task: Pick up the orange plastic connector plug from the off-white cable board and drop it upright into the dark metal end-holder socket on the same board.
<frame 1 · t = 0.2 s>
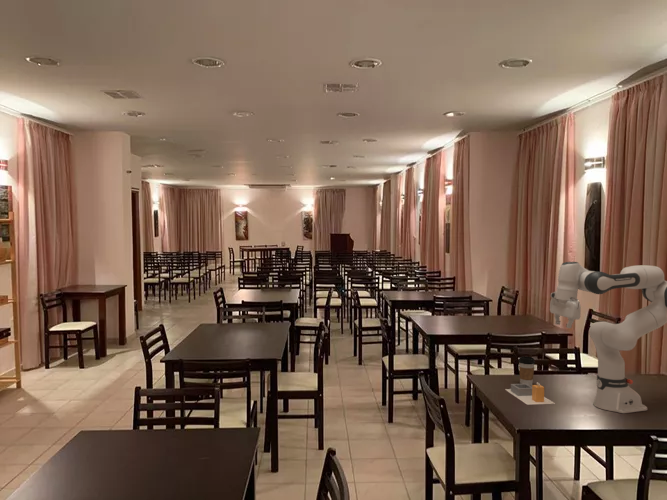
hand: (563, 326, 242), 38 cm above the table, tool pointing down, fingers open, 8 cm apart
cable board: (529, 398, 258), on the table
coffee cup: (526, 385, 280), on the table
plug: (538, 400, 251), point 1 cm above the table, touching cable board
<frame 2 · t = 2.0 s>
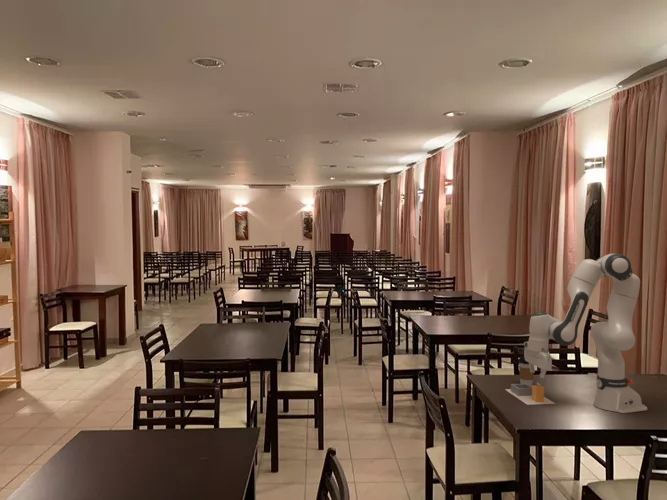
hand: (537, 375, 251), 13 cm above the table, tool pointing down, fingers open, 8 cm apart
nothing on the table moved.
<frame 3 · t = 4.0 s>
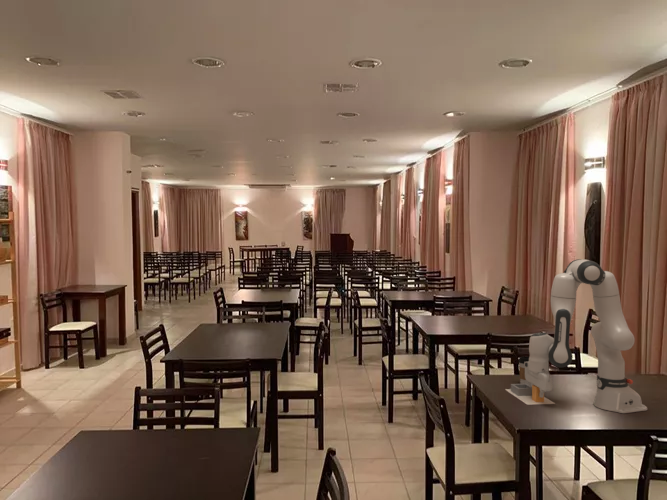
hand: (538, 395, 251), 4 cm above the table, tool pointing down, fingers closed on plug, 4 cm apart
plug: (538, 400, 251), point 1 cm above the table, touching cable board, gripper
everything else where it was.
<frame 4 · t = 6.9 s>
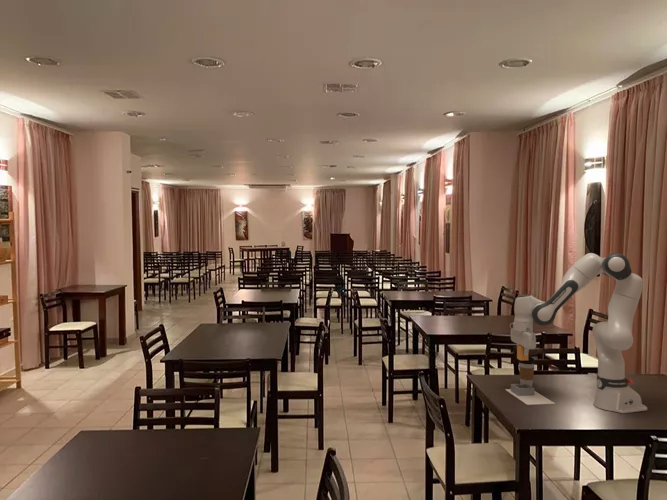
hand: (522, 354, 262), 21 cm above the table, tool pointing down, fingers closed on plug, 4 cm apart
plug: (522, 359, 262), point 18 cm above the table, touching gripper
everything else where it was.
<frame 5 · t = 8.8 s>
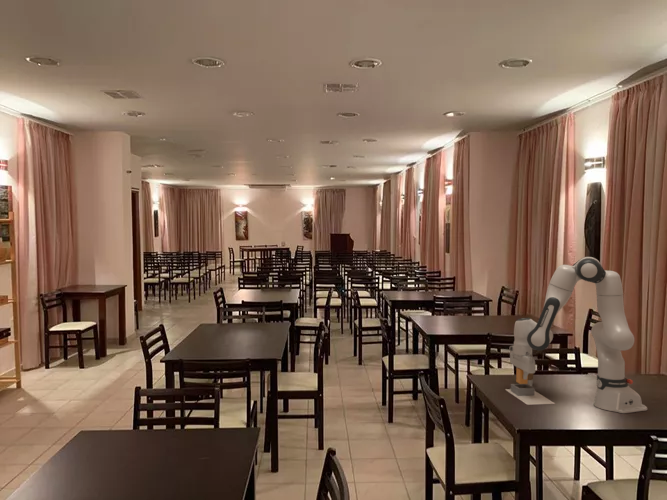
hand: (522, 377, 263), 9 cm above the table, tool pointing down, fingers closed on plug, 4 cm apart
plug: (521, 382, 263), point 6 cm above the table, touching gripper
everything else where it was.
when the fingers open (7 cm above the table, at t = 10.1 s): plug drops 3 cm, resting on cable board.
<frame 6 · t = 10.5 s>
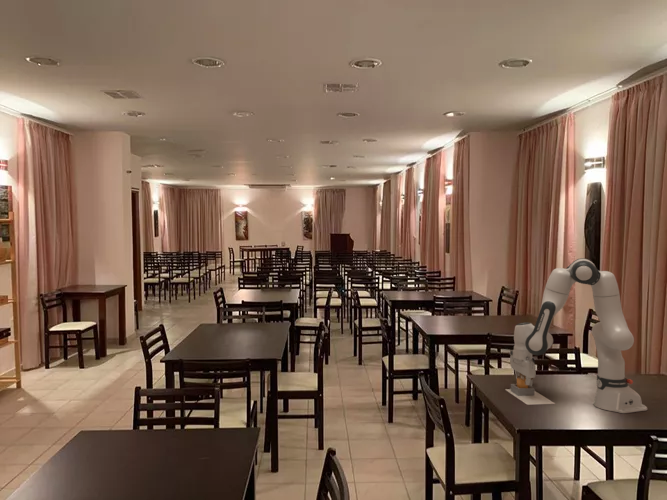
hand: (522, 382, 263), 7 cm above the table, tool pointing down, fingers open, 8 cm apart
plug: (522, 393, 263), point 1 cm above the table, touching cable board
everything else where it was.
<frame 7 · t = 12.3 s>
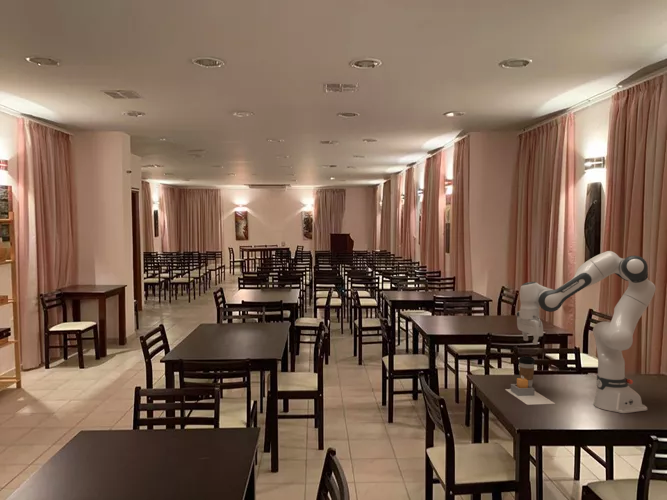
hand: (530, 342, 261), 27 cm above the table, tool pointing down, fingers open, 8 cm apart
nothing on the table moved.
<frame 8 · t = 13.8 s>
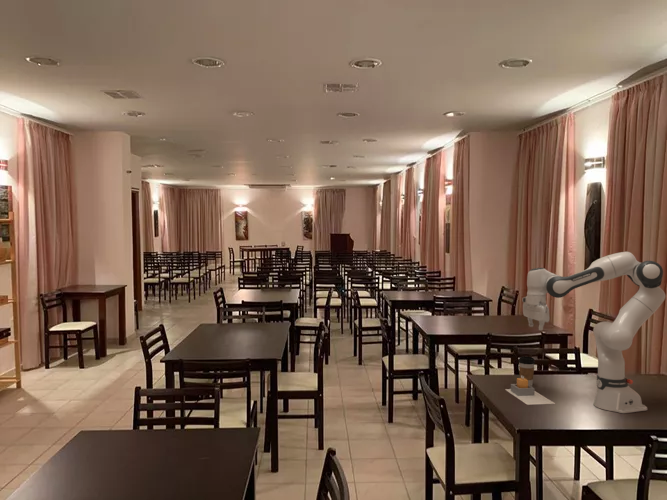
hand: (535, 328, 259), 34 cm above the table, tool pointing down, fingers open, 8 cm apart
nothing on the table moved.
at the end: plug 0.1 cm from the target spot, point 1.0 cm above the table; plug tilted 0°; the gripper is holding nothing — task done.
